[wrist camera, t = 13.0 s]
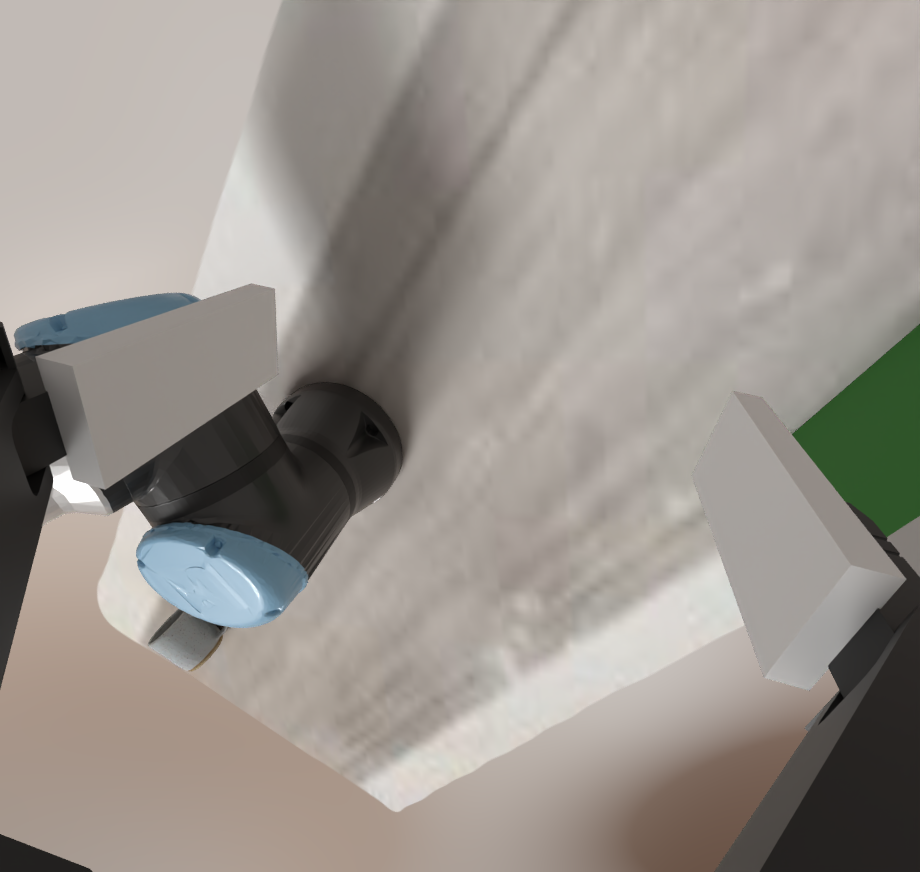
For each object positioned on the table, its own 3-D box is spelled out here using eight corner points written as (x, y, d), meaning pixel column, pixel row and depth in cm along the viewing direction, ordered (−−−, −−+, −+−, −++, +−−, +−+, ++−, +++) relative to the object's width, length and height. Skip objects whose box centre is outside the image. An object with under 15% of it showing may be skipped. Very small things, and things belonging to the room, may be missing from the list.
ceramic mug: (211, 642, 83) (179, 683, 76) (174, 610, 81) (137, 649, 74) (245, 622, 78) (214, 664, 71) (206, 588, 76) (170, 628, 69)
